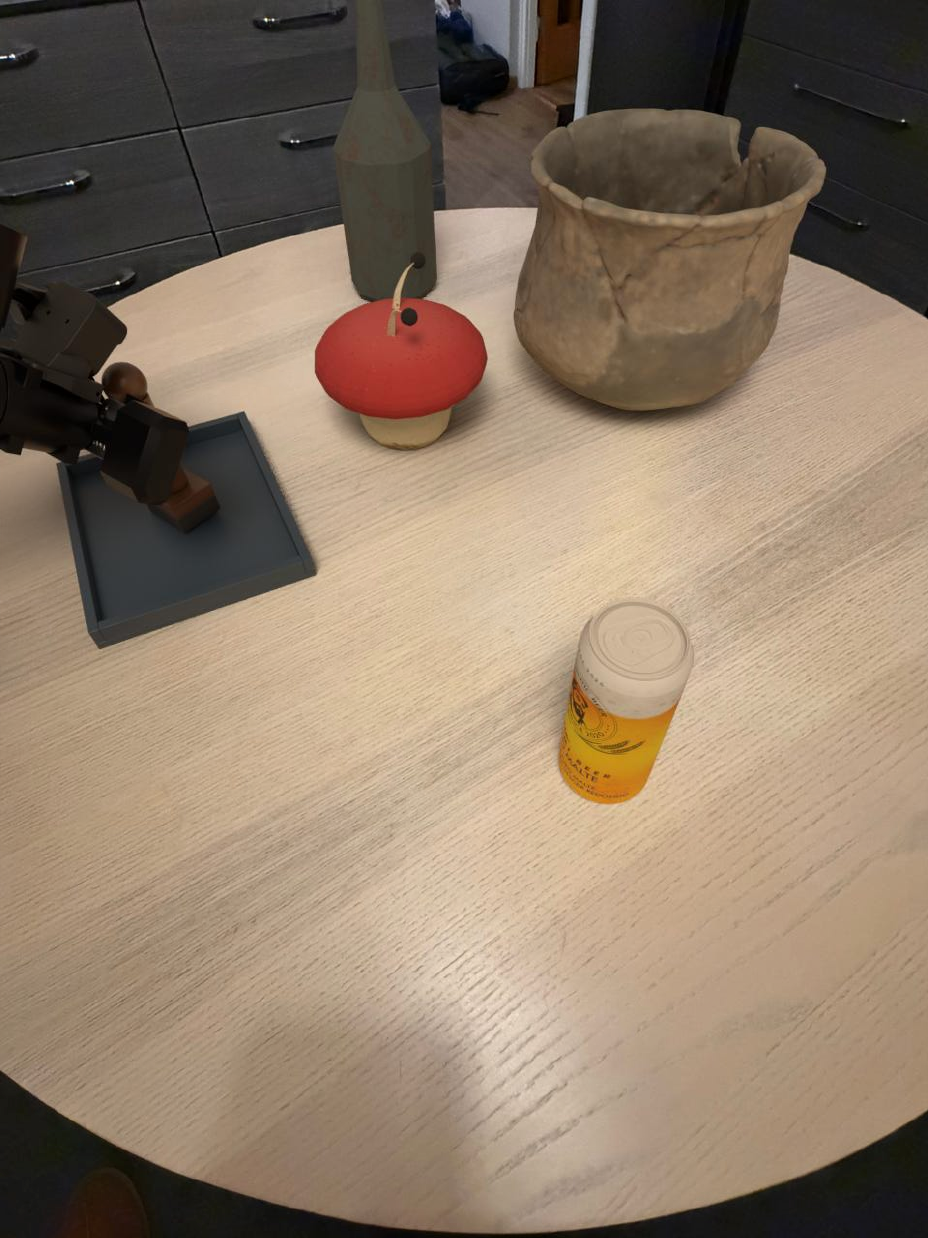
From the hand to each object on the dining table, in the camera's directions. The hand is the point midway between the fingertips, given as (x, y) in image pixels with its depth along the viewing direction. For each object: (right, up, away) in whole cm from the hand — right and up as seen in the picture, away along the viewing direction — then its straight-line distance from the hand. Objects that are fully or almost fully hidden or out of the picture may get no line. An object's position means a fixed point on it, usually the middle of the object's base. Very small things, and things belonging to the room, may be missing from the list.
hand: (169, 439), depth 62 cm
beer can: (+34, -25, -11) cm, 43 cm away
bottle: (+16, +26, +29) cm, 42 cm away
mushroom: (+19, +4, +12) cm, 23 cm away
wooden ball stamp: (0, -5, +4) cm, 7 cm away
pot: (+42, +10, +16) cm, 46 cm away
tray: (0, -7, +4) cm, 8 cm away
